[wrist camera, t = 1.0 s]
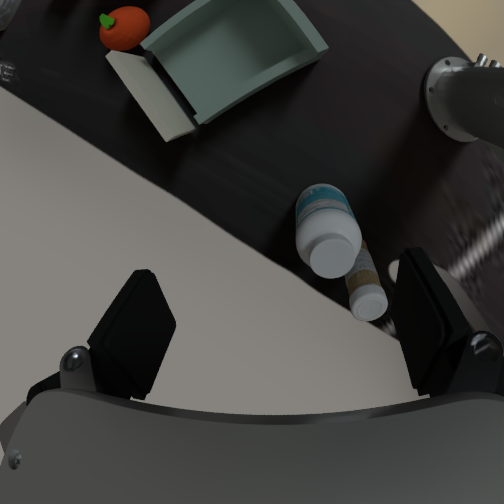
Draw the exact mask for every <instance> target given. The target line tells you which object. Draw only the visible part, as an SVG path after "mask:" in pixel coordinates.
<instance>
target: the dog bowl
mask: <svg viewBox="0 0 504 504" xmlns="http://www.w3.org/2000/svg"><path fill="white" fill-rule="evenodd" d="M20 2H21V0H0V31H1V30H5V29H6V28H7V26H8V25H9V23H10V22H11V20H12V18H13V16H14V15H15V13H16V11H17V9H18V7H19V5H20Z"/></svg>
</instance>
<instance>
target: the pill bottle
mask: <svg viewBox="0 0 504 504" xmlns="http://www.w3.org/2000/svg"><path fill="white" fill-rule="evenodd" d="M361 244H362V236H361V231H360V228H359V226H358V224H357V221H356V219H355V217H354V215H353V212H352V210H351V208H350V206H349V204H348V202H347V200H346V198H345V196H344V194H343V193H342V192H341V191H340V190H339V189H338V188H336V187H334V186H332V185H329V184H316V185H313V186H310V187H308V188H307V189H305V190H304V191H303V192H302V193H301V195H300V196H299V198H298V200H297V203H296V247H297V251H298V253H299V255H300V257H301V259H302V260H303V261H304V262H305V263H306V264H307V265H309V266H310V267H311V268H312V270H313V271H314V272H315V273H316V274H317V275H319V276H321V277H324V278H338V277H341V276H343V275H345V274H346V273H347V272H349V271H350V270H351V268H352V267H353V265H354V262H355V258H356V257H357V255H358V253H359V251H360V248H361Z"/></svg>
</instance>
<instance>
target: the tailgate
mask: <svg viewBox="0 0 504 504" xmlns="http://www.w3.org/2000/svg"><path fill="white" fill-rule="evenodd" d="M105 57H106V58H107V59H108V61H109V62H110V64H111V65H112V67H113V68H114V69H115V71H116V72H117V74H118V75H119V76H120V78H121V79H122V81H123V82H124V84H125V85H126V86H127V88H128V89H129V91H130V92H131V93H132V95H133V96H134V98H135V99H136V101H137V102H138V103H139V105H140V106H141V108H142V109H143V110H144V112H145V113H146V115H147V116H148V117H149V119H150V120H151V122H152V123H153V124H154V126H155V127H156V129H157V130H158V132H159V133H160V134H161V136H162V137H163V139H164V140H165V141H166V142H168V141H171V140H173V139H175V138H178V137H180V136H183V135H186V134H188V133H190V132H191V134H192V133H193V132H195V131H196V130H197V129H196V127H195V126H194V124H193V123H192V122H191V120H190V119H189V117H188V116H187V115H186V113H185V112H184V110H183V109H182V108H181V106H180V105H179V103H178V102H177V101H176V99H175V98H174V96H173V95H172V94H171V92H170V91H169V90H168V88H167V87H166V85H165V84H164V83H163V81H162V80H161V79H160V77H159V76H158V75H157V73H156V72H155V70H154V69H153V68H152V66H151V65H150V64H149V62H148V61H147V60H146V58H145V57H141V56H136V55H132V54H128V53H123V52H118V51H113V50H111V51H110V52H109V53H108V54H107V55H106V56H105Z"/></svg>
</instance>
